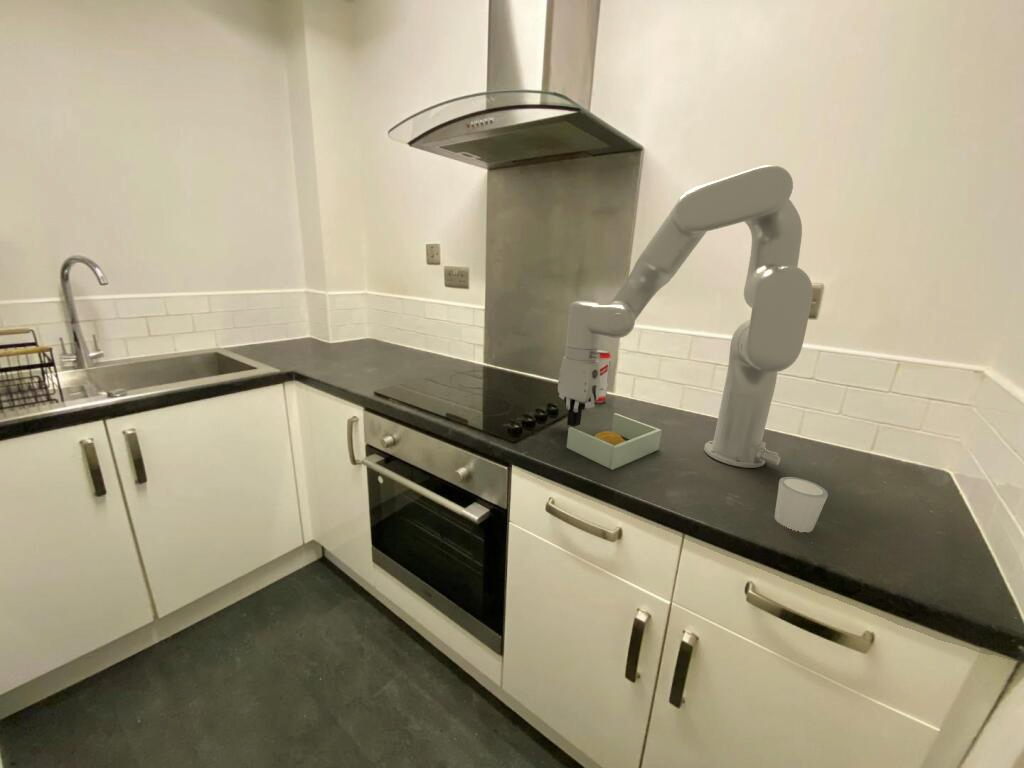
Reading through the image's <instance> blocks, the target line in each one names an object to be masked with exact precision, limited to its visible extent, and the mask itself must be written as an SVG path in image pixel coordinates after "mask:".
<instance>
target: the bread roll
mask: <svg viewBox="0 0 1024 768" xmlns="http://www.w3.org/2000/svg"><path fill="white" fill-rule="evenodd" d="M594 437H596V438H598V439H600V440H603V441H605V442H607V443H610V444H612V445H614V446H615V445H617V444H620V443H622V442H625V441H626V440H625V438H624V437H622V436H620V435H619V434H617V433H614V432H612V431H610V430H607V431H606V430H605V431H600V432H598V433H596V434H595V435H594Z"/></svg>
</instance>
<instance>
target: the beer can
mask: <svg viewBox="0 0 1024 768" xmlns="http://www.w3.org/2000/svg"><path fill="white" fill-rule="evenodd" d="M597 353H599V354H600V357H599V359H596V361H598V362H599V367H600V390H599V398H598V400H596V401H594V404H602V403H604V402H605V401H606V400H607V394H608V393H607V392H608V385H609V379H610V378H609V377H610V370H611V361H612V356H611V354H610V353H611V352H610V350H608V349H604V348H602V349H600V348H598V349H597Z"/></svg>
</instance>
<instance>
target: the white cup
mask: <svg viewBox="0 0 1024 768" xmlns="http://www.w3.org/2000/svg"><path fill="white" fill-rule="evenodd" d="M828 496H829V494H828V491H827V490H826V489H825V488H824V487H822V486H821V485H819V484H817V483H816V482H813V481H810V480H807V479H803V478H800V477H793V476H785V477H781V478H780V479H779V481H778V489H777V496H776V503H775V510H774V520H775V521H776V522H777V524H779V523H780V524H779V525H781V526H782V525H783V526H782V527H784V526H785V527H784V528H786V527H787V528H786V529H788V528H789V530H790V529H792V530H791V531H794V530H795V531H794V532H797V531H799V532H798V533H803V532H807V533H811V532H812V531H813V530H814V528H815V526H816V524H817V522H818V519H819V517H820V515H821V513H822V510H823V508H824V505H825V503H826V501H827V498H828Z"/></svg>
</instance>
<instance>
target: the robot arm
mask: <svg viewBox="0 0 1024 768" xmlns="http://www.w3.org/2000/svg"><path fill="white" fill-rule="evenodd" d="M793 189H794V180H793V177H792V175H791V174H790V172H789V171H788V170H787V169H785V168H784V167H782V166H779V165H773V164H769V165H762V166H758V167H754V168H752V169H749V170H746V171H743V172H740V173H737V174H733V175H730V176H727V177H724V178H721V179H719V180H715V181H711V182H707V183H705V184H703V185H698V186H696V187H694V188H691V189H689V190H687V191H686V192H685V193H683V194H682V195H681V196H680V198H679V199H678V201H677V202H676V204H675V205H674V206H673V207H672V209H671V210H670V212H669V214H668V215H667V216H666V218H665V220H664V221H663V222H662V224H661V225H660V227H659V228H658V229H657V231H656V232H655V234H654V235H653V236H652V238H651V240H650V241H649V242H648V244H647V245H646V247H645V248H644V249H643V251H642V253H641V254H640V256H639V257H638V259H637V260H636V262H635V264H634V266H633V268H632V270H631V272H630V274H629V275H628V277H627V278H626V279H625V281H624V283H623V284H622V286H621V287H620V288H619V290H618V292H616V294H615V296H614V297H613V299H612V300H611V301H610V302H609V304H604V305H601V304H600V303H599V302H594V301H588V300H586V301H585V300H577V301H573V302H572V303H571V304H570V305H569V310H568V320H567V321H568V322H567V329H566V330H567V331H566V342H565V351H564V356H563V357H562V361H561V363H560V364H561V365H560V369H559V372H558V373H559V375H558V380H557V393H559V394H558V397H559V398H560V399H561V400H563V401H564V403H565V406H566V409H567V411H568V412H567V421H566V425H567V426H569V427H573V428H574V427H576V426H580V425H581V421H582V412H583V411H584V410H586V409H593V408H595V407H596V406H595V403H594V401H596V400H598V398H599V390H600V367H599V362H598V361H596V359H599V357H600V354H599V353H597V349H599V338H600V335H601V336H605V337H609V338H614V339H620V338H624V337H626V336H628V335H630V334H631V333H632V331H633V329H634V327H635V325H636V324H635V323H636V320H637V319H638V317H639V316H640V314H641V313H642V312H643V311H644V309H645V308H646V307H647V305H648V304H649V302H651V300H652V299H653V297H654V296H655V295H656V294H657V293H658V292H659V291H660V290H661V289H662V288H664V286H666V285H667V284H668V283H670V281H671V280H672V278H674V276H675V275H676V274H677V273H678V272H679V270H680V268H681V267H682V265H683V264H684V263H685V262H686V261H687V260H688V257H689V256H690V255H691V253H692V252H693V251H694V249H695V248H696V247H697V245H698V244H699V243H700V242H701V241H702V239H703V238H704V236H705V235H706V234H707V232H711V231H714V230H719V229H722V228H725V227H729V226H733V225H737V224H740V223H745V225H747V227H748V229H749V230H750V234H751V246H750V248H751V250H750V257H749V262H748V269H747V275H746V279H745V283H744V287H743V297H744V301H745V303H746V304H747V305H748V306H749V307H750V308H751V314H750V319H749V320H746V321H744V322H743V323H741V324H740V325H739V326H738V327H737V328H736V329H735V331H734V333H733V334H732V336H731V341H730V346H729V356H728V366H727V372H726V378H725V382H724V388H723V392H722V397H721V402H720V408H719V411H718V416H717V421H716V427H715V432H714V436H713V440H709V441H707V442H706V443H705V444H704V448H703V449H704V451H705V453H706V454H707V455H708V456H709V457H710V458H712V459H714V460H716V461H718V462H721V463H724V464H727V465H730V466H734V467H738V468H746V469H748V468H749V469H753V468H761V467H763V466H764V465H765V464H766V462H767V463H769V464H772V465H775V466H778V465H779V464H780V461H781V456H779V453H778V452H776V451H773V450H768V449H767V448H766V445H767V442H765V441H763V437H764V434H765V429H766V426H767V421H768V417H769V413H770V408H771V404H772V401H773V400H772V399H773V397H774V393H775V388H776V384H777V377H778V373H780V372H782V371H785V370H786V369H788V368H790V367H791V366H792V365H794V363H795V362H796V361H797V359H798V357H799V355H800V354H801V351H802V349H803V345H804V341H805V336H806V332H807V327H808V322H809V318H810V312H811V307H812V302H813V295H814V294H813V286H812V285H813V284H812V281H811V279H810V277H809V275H808V274H807V273H806V272H805V271H804V270H803V269H801V268H800V267H798V264H799V259H800V254H801V253H800V252H801V247H802V246H801V244H802V237H803V225H802V220H801V216H800V214H799V212H798V210H797V208H796V206H795V205H794V203H793V202H792V201H791V200H790V198H791V195H792V193H793Z"/></svg>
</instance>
